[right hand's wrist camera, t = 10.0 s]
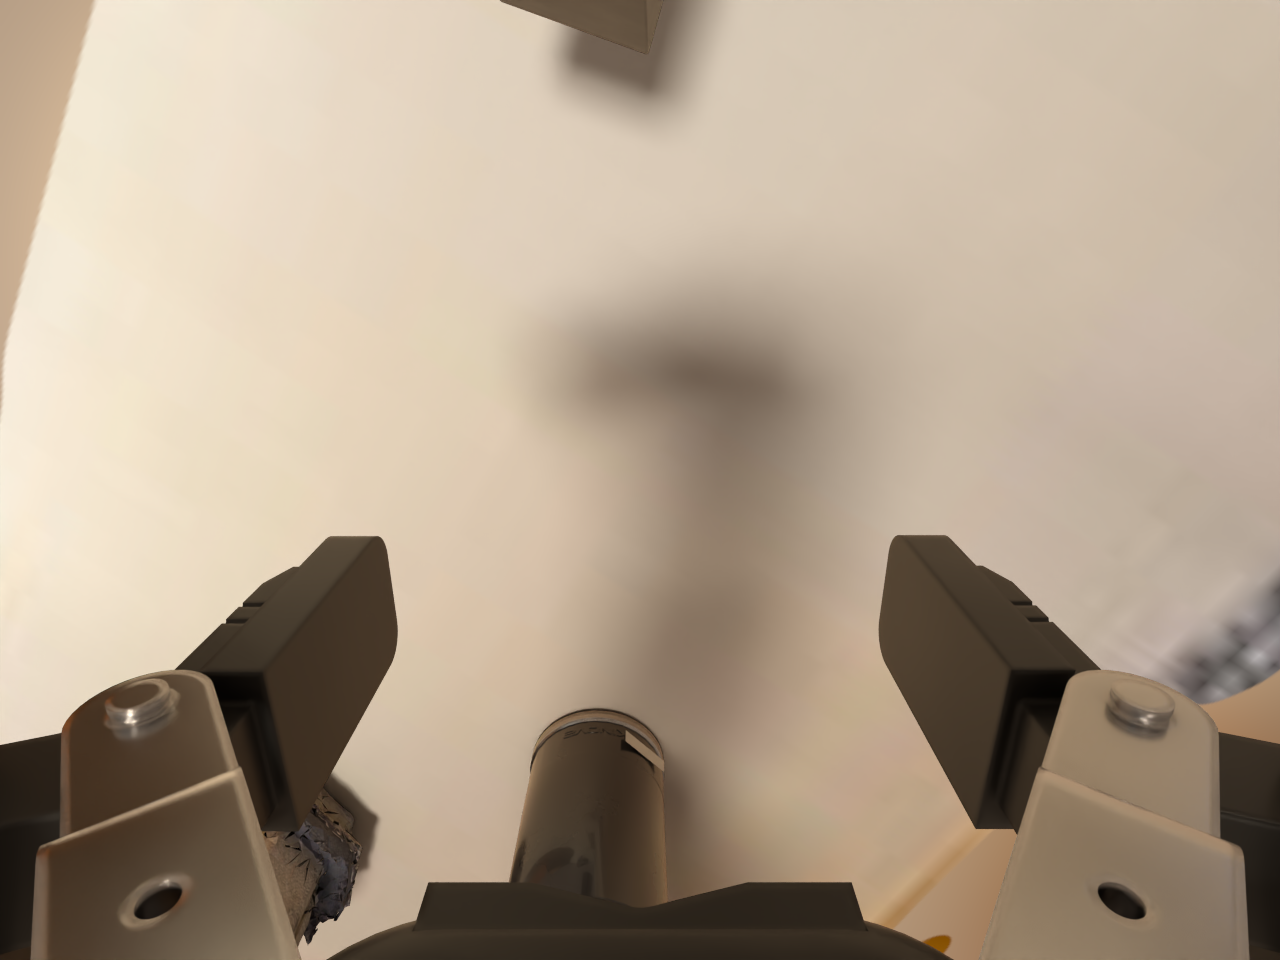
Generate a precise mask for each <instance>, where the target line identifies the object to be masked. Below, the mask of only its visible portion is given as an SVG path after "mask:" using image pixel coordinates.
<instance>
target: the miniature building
mask: <svg viewBox="0 0 1280 960" xmlns="http://www.w3.org/2000/svg"><path fill="white" fill-rule="evenodd" d="M323 796H329V797H324V798H323ZM322 798H323V800H322ZM321 800H322V801H321ZM322 803H323V804H324V805H325V807H326V808H327V809H328V810H327V809H326V808H324V806H323V804H322ZM312 808H317V810H316V812H315V814H314V812H313V810H312V809H311V810H310V812H311V813H310V812H309V814H308V816H307V817H306V819H305V821H304V823H303V825H302V826H301V828H300V830H299V831H293V832H294V833H295V834H294V835H292V836H290V837H288V838H287V839H285V838H286V837H287V836H288V835H289V833H290V832H291V831H261V832H262V835H263V838H264V841H265V844H266V848H267V851H268V854H269V857H270V861H271V864H272V867H273V870H274V873H275V877H276V880H277V883H278V886H279V889H280V893H281V896H282V899H283V902H284V905H285V909H286V912H287V915H288V918H289V922H290V925H291V928H292V931H293V934H294V938H295V941H296V944H297V947H298V945H299V942H300V940H301V938H302V936H303V934H304V936H305V938H306V942H307V944H309V943H310V942H311V941H312V937H313V935H314V934H315V933H316V931H317V930H318V928H317V929H316V926H317V925H318V924H319V922H322V923H324V922H325V921H327V920H328V919H333V918H334V921H336V920H337V919H338V917H339V916H340V914H341V913H342V911H343V910H344V908H345V907H347V905H348V906H350V901H351V895H352V891H351V889H352V888H353V887H352V886H353V885H354V883H355V880H354V879H355V876H356V873H357V869H358V867H359V866H357V867H355V866H356V865H358V864H359V863H358V862H357V861H359V858H360V854H361V851H362V849H363V848H362V846H361V845H360V843H359V842H358V841H357V840H356V839H355V838H354V837H353V836H352V826H353V823H354V822H353V821H354V818H353V816H352V814H351V813H349V812H348V811H347V810H345V809H344V808H343V807H342V806H340V805H339V804H338V803H337V802H336V801H335V800H334V799H333V798H332V797H331V796H330V795H329V794H328V793H327V792H326V790H325V789H324V788H322V790H321V792H320V794H319V796H318V798H317V799H316V801H315V803H314V805H313V807H312ZM327 811H331V812H335V813H339V814H332V813H324V812H327ZM312 813H313V814H314V815H313V814H312ZM348 821H349V822H350V823H349V822H348ZM306 825H307V826H306ZM309 826H310V828H311V829H310V828H309ZM308 829H309V830H310V831H308V832H306V831H307V830H308ZM265 832H266V834H267V838H266V837H265V836H264V833H265ZM276 832H277V833H276ZM305 832H306V833H305ZM342 832H343V833H344V834H343V835H345V836H346V837H345V836H344V838H343V836H342ZM275 833H276V834H275ZM274 834H275V835H274ZM303 834H304V835H305V836H306V837H307V838H308V839H309V840H308V839H306V838H304V837H301V836H302V835H303ZM272 836H276V837H272ZM270 837H272V838H270ZM300 837H301V839H300ZM346 838H347V839H346ZM284 839H285V840H284ZM285 841H286V842H285ZM285 845H290V847H294V848H300V849H301V851H300V850H297V849H293V848H290V847H286V846H285ZM318 849H319V850H318ZM318 852H319V853H318ZM329 852H330V853H331V854H330V853H329ZM299 853H300V854H299ZM321 853H322V855H321ZM298 854H299V855H298ZM297 855H298V856H297ZM296 856H297V857H296ZM295 857H296V858H295ZM294 858H295V859H294ZM310 858H311V859H310ZM322 858H324V860H322V861H320V860H321V859H322ZM292 859H294V860H293V861H292V862H291V863H289V862H290V861H291V860H292ZM307 859H309V860H308V861H306V862H305V863H304V864H303V865H302V866H300V867H298V865H299V864H300V863H302V862H303V861H305V860H307ZM309 861H310V863H309ZM319 861H320V862H319ZM336 861H337V863H336ZM318 862H319V863H318ZM323 862H324V863H323ZM352 862H353V863H354V864H352ZM288 863H289V864H288ZM308 863H309V867H308V868H306V867H307V865H308ZM356 863H357V864H356ZM354 867H355V868H354ZM325 872H326V874H325ZM319 874H320V875H319ZM324 874H325V875H324ZM333 893H334V894H333ZM338 912H339V913H338ZM337 913H338V914H337ZM326 916H327V917H326Z"/></svg>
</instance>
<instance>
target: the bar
mask: <svg viewBox="0 0 1280 960" xmlns="http://www.w3.org/2000/svg"><path fill="white" fill-rule="evenodd" d="M500 1H501V2H503V3H506V4H509V5H512V6H515V7H517V8H520V9H523V10H526V11H528V12H531V13H534V14H537V15H539V16H542V17H545V18H548V19H550V20H553V21H556V22H559V23H561V24H564V25H567V26H570V27H572V28H575V29H578V30H581V31H583V32H586V33H589V34H592V35H595V36H597V37H600V38H603V39H606V40H608V41H611V42H614V43H617V44H619V45H622V46H625V47H628V48H630V49H633V50H636V51H639V52H641V53H644V54H648V53H649V50H650V46H651V43H652V39H653V36H654V32H655V28H656V25H657V21H658V18H659V14H660V11H661V7H662V3H663V0H500Z"/></svg>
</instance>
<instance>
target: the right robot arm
mask: <svg viewBox="0 0 1280 960" xmlns="http://www.w3.org/2000/svg"><path fill="white" fill-rule="evenodd" d="M1048 619H1049V618H1048V617H1047V616H1046V615H1045V614H1044V613H1043V612H1042V611H1041V610H1040V609H1039V608H1038V607H1037V606H1033V605H1032V601H1031V600H1030V599H1029V598H1028V597H1027V596H1026V595H1025V594H1024V593H1023V592H1022V591H1021V590H1020V589H1019V588H1018V587H1017V586H1016V585H1015V584H1014V583H1013V582H1011V581H1009V580H1007V579H1006V578H1004V577H1002V576H1000V575H998V574H997V573H995V572H993V571H991V570H989V569H987V568H986V567H984V566H976V565H975V564H974V563H973V562H972V561H971V560H970V559H969V558H968V557H967V556H966V555H965V553H964V552H963V551H962V550H961V549H960V548H959V547H958V546H957V545H956V544H955V543H954V542H953V541H952V540H951V539H950V538H949V537H948V536H945V535H897V536H895V537H894V539H893V540H892V542H891V545H890V549H889V554H888V562H887V569H886V576H885V583H884V590H883V597H882V605H881V612H880V619H879V642H880V648H881V653H882V656H883V659H884V662H885V664H886V666H887V667H888V669H889V671H890V673H891V675H892V676H893V678H894V680H895V682H896V684H897V686H898V687H899V689H900V691H901V693H902V695H903V697H904V698H905V700H906V702H907V704H908V706H909V708H910V709H911V711H912V713H913V715H914V717H915V719H916V720H917V722H918V724H919V726H920V728H921V730H922V731H923V733H924V735H925V737H926V739H927V741H928V742H929V744H930V746H931V748H932V750H933V752H934V753H935V755H936V757H937V759H938V761H939V763H940V764H941V766H942V768H943V770H944V772H945V774H946V775H947V777H948V779H949V781H950V783H951V785H952V786H953V788H954V790H955V792H956V794H957V796H958V797H959V799H960V801H961V803H962V805H963V807H964V808H965V810H966V812H967V814H968V816H969V817H970V819H971V821H972V823H973V825H974V827H975V828H976V829H1014V830H1015V832H1016V834H1017V838H1016V841H1015V844H1014V848H1013V851H1012V854H1011V857H1010V861H1009V864H1008V867H1007V870H1006V873H1005V877H1004V880H1003V883H1002V886H1001V889H1000V893H999V896H998V899H997V902H996V906H995V909H994V912H993V915H992V918H991V922H990V925H989V928H988V931H987V934H986V938H985V941H984V944H983V947H982V950H981V954H980V957H979V960H1280V744H1277V743H1271V742H1266V741H1261V740H1256V739H1251V738H1246V737H1241V736H1236V735H1231V734H1226V733H1220V732H1218V728H1217V726H1216V724H1215V722H1214V721H1213V719H1212V718H1211V717H1210V716H1209V715H1208V713H1207V712H1206V711H1204V710H1203V709H1202V708H1201V707H1200V706H1199V705H1198V704H1196V703H1195V702H1193V701H1192V700H1191V699H1189V698H1188V697H1186V696H1184V695H1183V694H1181V693H1179V692H1177V691H1176V690H1174V689H1172V688H1170V687H1168V686H1165V685H1163V684H1161V683H1158V682H1156V681H1153V680H1150V679H1147V678H1144V677H1141V676H1137V675H1134V674H1130V673H1125V672H1120V671H1111V670H1101V669H1100V668H1099V667H1098V666H1097V665H1096V664H1095V663H1094V662H1093V661H1092V660H1091V659H1090V658H1089V657H1088V656H1087V655H1086V654H1085V653H1084V652H1083V651H1082V650H1081V649H1080V648H1079V647H1078V646H1077V645H1076V644H1075V643H1074V642H1073V641H1071V640H1070V639H1069V638H1068V637H1067V636H1066V635H1065V634H1064V633H1063V632H1062V631H1061V630H1060V629H1059V628H1058V627H1057V626H1056V625H1055V624H1054V623H1053V622H1049V620H1048ZM397 636H398V627H397V618H396V611H395V604H394V597H393V590H392V582H391V575H390V568H389V561H388V554H387V549H386V546H385V543H384V541H383V540H382V538H381V537H379V536H330V537H328V538H327V539H326V540H325V541H324V542H323V543H322V544H321V545H320V546H319V547H318V548H317V549H316V550H315V551H314V552H313V553H312V554H311V555H310V556H309V557H308V558H307V559H306V560H305V561H304V562H303V563H302V564H301V565H300V567H292V568H290V569H289V570H287V571H285V572H283V573H281V574H279V575H277V576H276V577H274V578H272V579H270V580H268V581H266V582H265V583H263V584H262V585H261V586H260V587H259V588H258V589H257V590H256V591H255V592H254V593H253V594H252V595H251V596H250V597H248V598H247V599H246V600H245V601H244V602H243V607H238V608H237V609H236V610H235V611H234V612H233V613H232V614H231V615H230V616H229V617H228V618H227V619H226V624H221V625H220V626H219V627H218V628H217V629H216V630H215V631H214V632H213V633H212V634H211V635H210V636H209V637H208V638H207V639H206V640H205V641H204V642H203V643H202V644H200V645H199V646H198V647H197V648H196V649H195V650H194V651H193V652H192V653H191V654H190V655H189V656H188V657H187V658H186V659H185V660H184V661H183V662H182V663H181V664H180V665H179V666H178V667H177V668H176V669H175V670H169V671H160V672H155V673H150V674H146V675H143V676H139V677H136V678H133V679H130V680H127V681H124V682H122V683H119V684H117V685H115V686H112V687H110V688H108V689H106V690H104V691H103V692H101V693H99V694H97V695H96V696H94V697H92V698H91V699H89V700H88V701H87V702H85V703H84V704H82V705H81V706H80V707H79V708H78V709H77V710H76V711H74V712H73V713H72V715H71V716H70V717H69V718H68V719H67V721H66V722H65V724H64V726H63V728H62V733H59V734H54V735H49V736H44V737H39V738H34V739H29V740H24V741H19V742H14V743H9V744H4V745H0V960H301V957H300V954H299V950H298V947H297V944H296V941H295V938H294V934H293V931H292V928H291V925H290V922H289V918H288V915H287V912H286V909H285V905H284V902H283V899H282V896H281V893H280V889H279V886H278V883H277V880H276V877H275V873H274V870H273V867H272V864H271V861H270V857H269V854H268V851H267V848H266V844H265V841H264V838H263V835H262V832H261V831H299V830H300V828H301V826H302V825H303V823H304V821H305V819H306V817H307V816H308V814H309V812H310V810H311V808H312V807H313V805H314V803H315V801H316V799H317V798H318V796H319V794H320V792H321V790H322V788H323V787H324V785H325V783H326V781H327V779H328V778H329V776H330V774H331V772H332V770H333V769H334V767H335V765H336V763H337V761H338V760H339V758H340V756H341V754H342V752H343V750H344V749H345V747H346V745H347V743H348V741H349V740H350V738H351V736H352V734H353V732H354V731H355V729H356V727H357V725H358V723H359V722H360V720H361V718H362V716H363V714H364V712H365V711H366V709H367V707H368V705H369V703H370V702H371V700H372V698H373V696H374V694H375V693H376V691H377V689H378V687H379V685H380V684H381V682H382V680H383V678H384V676H385V675H386V673H387V671H388V669H389V667H390V665H391V663H392V661H393V658H394V655H395V651H396V646H397ZM663 781H664V759H663V753H662V750H661V747H660V745H659V743H658V741H657V740H656V738H655V737H654V736H653V734H652V733H651V732H650V731H649V730H648V729H647V728H646V727H645V726H643V725H642V724H640V723H639V722H637V721H636V720H634V719H632V718H630V717H627V716H625V715H622V714H619V713H615V712H610V711H598V710H595V711H584V712H579V713H575V714H571V715H569V716H566V717H564V718H562V719H560V720H558V721H556V722H555V723H553V724H552V725H551V726H550V727H548V728H547V729H546V730H545V731H544V733H543V734H542V735H541V736H540V738H539V739H538V741H537V743H536V745H535V748H534V751H533V756H532V761H531V767H530V779H529V784H528V789H527V793H526V797H525V802H524V808H523V813H522V818H521V823H520V828H519V833H518V838H517V843H516V848H515V853H514V859H513V864H512V869H511V874H510V879H509V882H428V885H427V889H426V892H425V895H424V898H423V901H422V904H421V908H420V911H419V914H418V917H417V920H416V921H413V922H409V923H405V924H402V925H399V926H396V927H393V928H391V929H388V930H385V931H382V932H379V933H377V934H374V935H372V936H370V937H368V938H366V939H364V940H362V941H360V942H357V943H355V944H353V945H351V946H349V947H347V948H346V949H344V950H342V951H340V952H339V953H337V954H335V955H334V956H332V957H330V958H329V959H327V960H953V959H951V958H950V957H948V956H946V955H945V954H943V953H941V952H940V951H938V950H936V949H934V948H933V947H931V946H929V945H927V944H925V943H923V942H920V941H918V940H916V939H914V938H912V937H910V936H908V935H906V934H903V933H901V932H898V931H895V930H892V929H889V928H887V927H884V926H881V925H878V924H875V923H871V922H867V921H864V920H863V917H862V914H861V911H860V908H859V904H858V901H857V898H856V895H855V892H854V889H853V886H852V882H748V883H744V884H740V885H736V886H731V887H727V888H723V889H719V890H715V891H711V892H707V893H703V894H699V895H695V896H691V897H687V898H683V899H679V900H675V901H671V902H668V896H667V871H666V846H665V821H664V791H663Z"/></svg>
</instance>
